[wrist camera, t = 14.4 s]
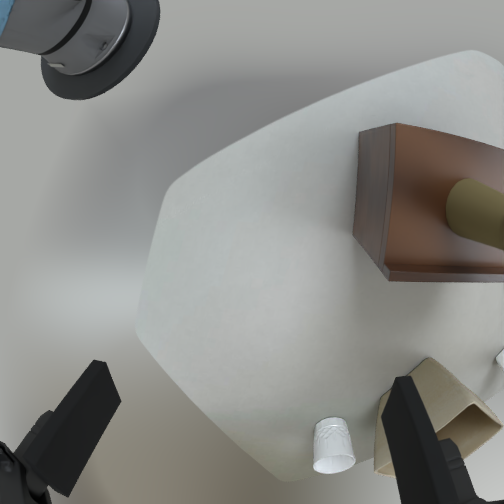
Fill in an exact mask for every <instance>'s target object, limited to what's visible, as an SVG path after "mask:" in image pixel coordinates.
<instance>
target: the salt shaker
mask: <svg viewBox="0 0 504 504" xmlns="http://www.w3.org/2000/svg"><path fill="white" fill-rule="evenodd" d="M496 361H497V363H498V365H499V366H500V368H501V369H502V370H503V372H504V349H503V350H502V351H501V352H500V354H499V355H498V356H497V357H496Z"/></svg>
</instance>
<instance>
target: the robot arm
mask: <svg viewBox="0 0 504 504" xmlns="http://www.w3.org/2000/svg"><path fill="white" fill-rule="evenodd" d="M132 17H133V13H132V7H131V5H130V3H129V1H128V0H0V47H3V48H9V49H14V50H19V51H24V52H29V53H33V54H38V55H41V56H42V57H43V58H45V59H46V60H47V61H48V62H49V63H50V64H49V65H50V66H51V67H54V68H55V69H56V70H57V71H59V72H61V73H63V74H67V75H71V76H82V75H86V74H88V73H91V72H93V71H95V70H97V69H98V68H100V67H101V66H103V65H104V64H105V63H106V62H107V61H109V60H110V59H111V58H112V57H113V56H114V54H115V53H116V52H117V51H118V50H119V48H120V47H121V46H122V44H123V42H124V41H125V39H126V37H127V35H128V33H129V30H130V27H131V24H132ZM120 403H121V399H120V397H119V394H118V392H117V389H116V387H115V385H114V382H113V379H112V377H111V374H110V372H109V369H108V366H107V364H106V362H102V361H97V360H93V361H92V362H91V364H90V365H89V366H88V368H87V369H86V370H85V371H84V373H83V374H82V375H81V376H80V378H79V379H78V380H77V381H76V383H75V384H74V385H73V387H72V388H71V389H70V391H69V392H68V393H67V395H66V396H65V397H64V399H63V400H62V401H61V403H60V404H59V405H58V407H57V408H56V409H55V411H54V412H53V411H50V410H49V411H47V412H45V413H44V414H43V415H41V416H40V418H39V419H38V420H37V422H36V423H35V425H34V426H33V427H32V428H31V431H29V433H28V434H27V435H26V436H25V438H24V439H23V441H22V442H21V444H20V445H19V446H18V448H17V449H16V450H15V452H14V453H12V452H11V450H10V449H9V448H8V447H7V446H6V444H5V443H3V442H1V441H0V504H52V502H51V498H50V494H49V491H48V489H47V486H48V485H49V486H50V487H51V488H52V489H54V490H55V491H56V492H58V493H60V494H62V495H64V496H66V497H69V495H70V493H71V491H72V489H73V488H74V486H75V484H76V482H77V479H78V478H79V476H80V474H81V472H82V470H83V469H84V467H85V465H86V463H87V461H88V459H89V458H90V456H91V454H92V452H93V451H94V449H95V447H96V445H97V443H98V442H99V440H100V438H101V436H102V434H103V433H104V431H105V429H106V427H107V425H108V424H109V422H110V420H111V418H112V417H113V415H114V413H115V412H116V410H117V408H118V406H119V405H120ZM381 420H382V424H383V427H384V431H385V435H386V439H387V443H388V446H389V450H390V454H391V459H392V463H393V467H394V471H395V476H396V480H397V484H398V489H399V494H400V499H401V504H504V500H499V501H492V502H486V501H485V500H484V499H482V498H479V497H478V496H477V495H476V493H475V491H474V488H473V485H472V482H471V479H470V477H469V474H468V471H467V469H466V466H464V461H463V458H461V453H460V451H459V448H458V446H457V445H456V444H455V443H454V442H453V441H452V440H451V439H450V438H447V439H443V440H438V438H437V435H436V433H435V430H434V428H433V425H432V423H431V420H430V418H429V415H428V413H427V410H426V408H425V406H424V403H423V401H422V399H421V397H420V394H419V392H418V390H417V388H416V385H415V383H414V381H413V379H412V377H411V376H403V377H396V378H395V381H394V384H393V387H392V389H391V392H390V395H389V397H388V400H387V402H386V405H385V407H384V410H383V412H382V415H381Z"/></svg>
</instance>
